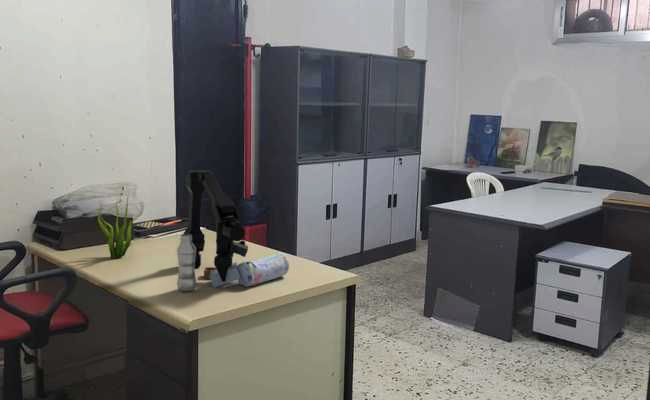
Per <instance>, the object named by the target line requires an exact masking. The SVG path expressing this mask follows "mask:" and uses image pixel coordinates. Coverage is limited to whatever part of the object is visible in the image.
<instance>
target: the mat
mask: <svg viewBox="0 0 650 400" xmlns="http://www.w3.org/2000/svg"><path fill="white" fill-rule="evenodd" d="M239 288H240V289H241V288H242V284H240V283H239V281H238V280H235V281H232V282H229V283H226V284H223V285H220V286H217V287H213V284H212V282H211V280H209V281H208V282H207V285H206V289H239Z"/></svg>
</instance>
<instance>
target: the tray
mask: <svg viewBox="0 0 650 400" xmlns="http://www.w3.org/2000/svg"><path fill="white" fill-rule="evenodd" d="M215 269H216V267H215V266H213V267H211V266H209V267H207V266H205V267H204V270H203V279H204V280H211V279H210V272H211V271H212V270H215Z"/></svg>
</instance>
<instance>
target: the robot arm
mask: <svg viewBox="0 0 650 400" xmlns="http://www.w3.org/2000/svg"><path fill="white" fill-rule="evenodd" d="M184 181H185V186H186V188H187V190H188V192H189V195H188V196H189V198H188V199H189V200H188V201H189V202H188V216H187V217H188V219H187V227H186V229H185V230H184V232H183V233H182V235H183V234H191V235H192V241H191V242H192V243H193V244H194V246H195V247H196V256H195V269H199V268H200V266H201V265H202V254H201V252H204V248H205V245H206V244H205V243H206V241H205V237H206V235H205V234H204V233H203V231H202V230H201V220H202V219H201V218H202V206H203V205H202V204H203V203H202V202H203V193H204V192H205V191H206V193H207V195H208V197H209V198H210V200H211V203H212V206H211V210H212V214H213V216H214V218H215V219H213V220H214V222H215V224H216V226H215V230H216V236H215V237H216V238H215V243H216V250H215V254H216V255H215V257H214V258H213V259H214V260H213V265H214V267H216V269H217V271H218V273H219V275H220V278H221V280H222V282H225V281H226V276H227V271H228V268H229V267H230V266H232V263H233V257H234V254H236V255H240V256H241V257H244V258H245V257H246V255H247V253H248V250H249V246H248V245H246V241H245V240H243V239H244V237H245V236H246V235H245V234H246V231H245V228H244V227H243V226H242V225H240V223H241V222H240V221H241V219H240V213H239V211H238V209H237V205H236V204H235V203H234V201H233V200H232V199H231V198H230V197H229V196H227V195H225V194H224V192H223V190H222V188H221V187H220V184H219V183H218V181H217V179H216V178H215V174H214V172H213V170H212V171H211V170H188V172H186V174H185V176H184ZM181 242H182V241H181V240H180V243H181Z"/></svg>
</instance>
